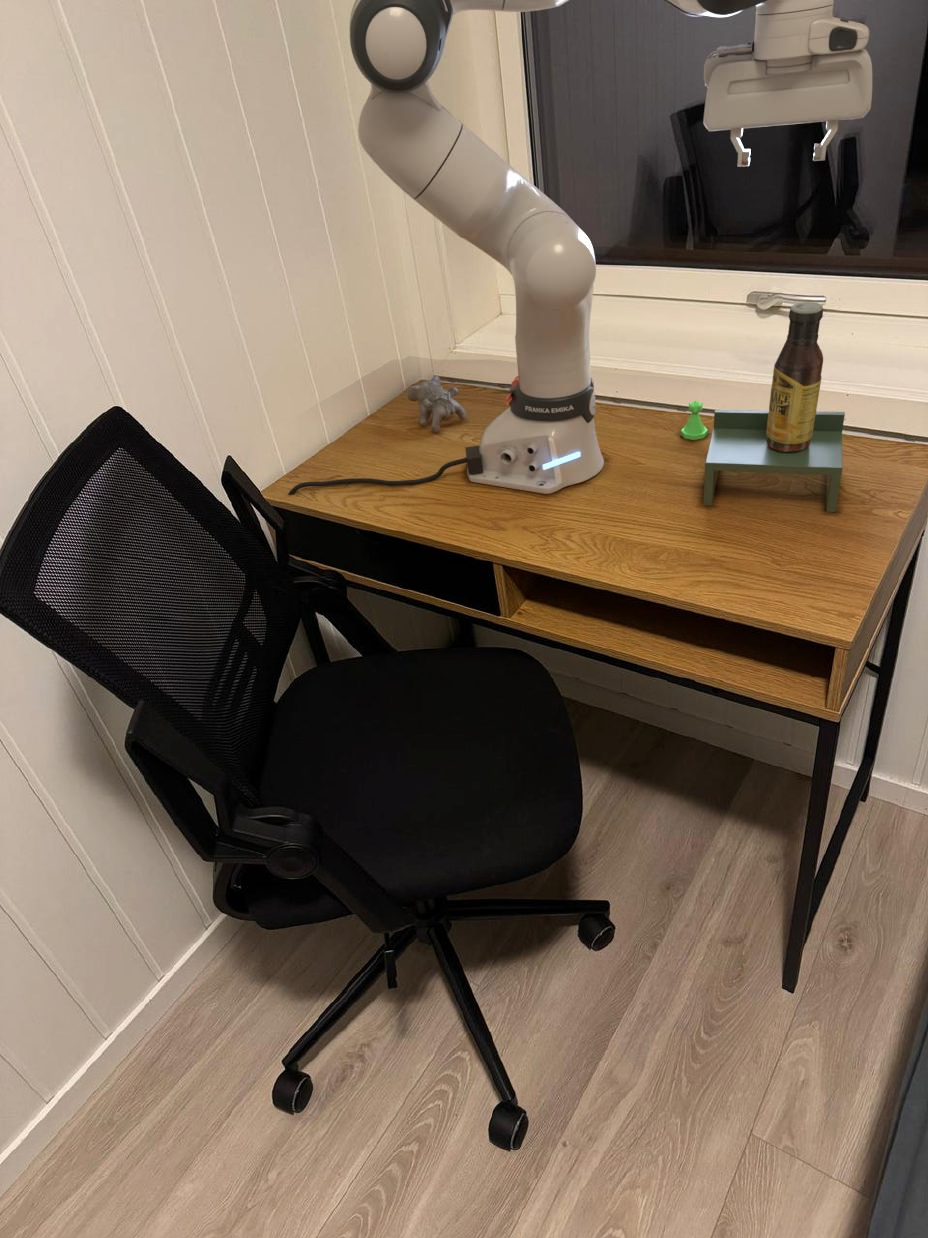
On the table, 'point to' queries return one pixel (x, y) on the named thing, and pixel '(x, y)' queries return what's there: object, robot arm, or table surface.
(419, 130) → the robot arm
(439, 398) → the gray elephant figurine
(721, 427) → the shelf
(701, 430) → the game piece
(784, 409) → the sauce bottle
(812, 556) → the table surface
